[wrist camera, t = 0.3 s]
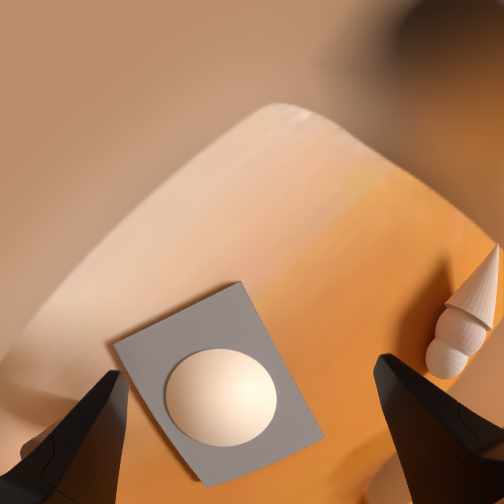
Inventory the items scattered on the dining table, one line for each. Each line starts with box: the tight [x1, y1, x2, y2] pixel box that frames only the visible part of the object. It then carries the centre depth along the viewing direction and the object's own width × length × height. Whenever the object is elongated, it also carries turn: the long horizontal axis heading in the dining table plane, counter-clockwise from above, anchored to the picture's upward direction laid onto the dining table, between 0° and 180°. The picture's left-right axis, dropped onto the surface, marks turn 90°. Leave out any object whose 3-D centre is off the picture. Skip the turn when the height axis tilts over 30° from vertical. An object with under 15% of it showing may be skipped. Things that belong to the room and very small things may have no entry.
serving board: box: [113, 281, 325, 488], centre depth 23 cm, size 16×12×2 cm
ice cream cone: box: [425, 243, 499, 379], centre depth 23 cm, size 6×6×15 cm
